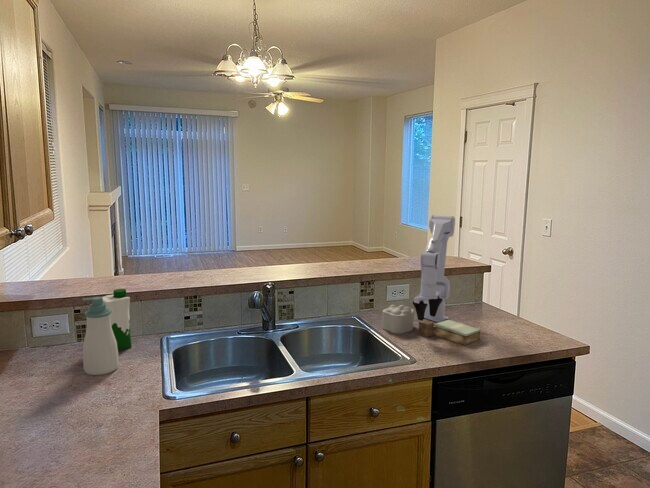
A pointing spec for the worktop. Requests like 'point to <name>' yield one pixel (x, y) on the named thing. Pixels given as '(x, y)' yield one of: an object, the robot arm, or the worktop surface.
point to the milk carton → (120, 317)
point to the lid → (457, 327)
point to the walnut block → (426, 328)
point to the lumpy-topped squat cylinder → (398, 319)
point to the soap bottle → (99, 340)
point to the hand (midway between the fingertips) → (426, 317)
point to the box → (456, 336)
